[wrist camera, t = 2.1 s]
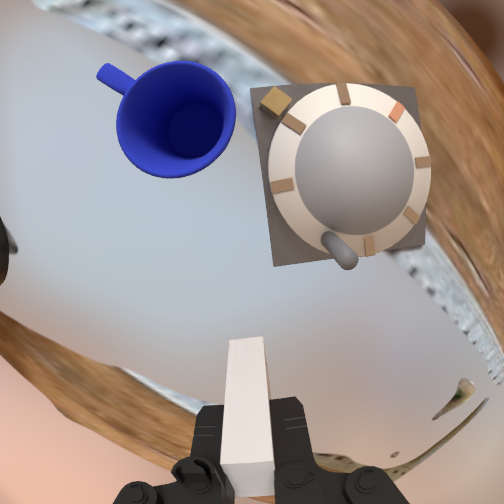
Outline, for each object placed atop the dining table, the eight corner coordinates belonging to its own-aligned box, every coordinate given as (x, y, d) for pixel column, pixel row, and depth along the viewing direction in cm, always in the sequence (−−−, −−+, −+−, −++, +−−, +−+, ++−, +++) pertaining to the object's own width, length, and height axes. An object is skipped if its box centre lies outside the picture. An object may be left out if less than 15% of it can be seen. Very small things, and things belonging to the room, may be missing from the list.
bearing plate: (273, 264, 31) (276, 275, 28) (250, 89, 25) (250, 82, 22) (422, 243, 30) (435, 250, 28) (411, 88, 25) (426, 83, 22)
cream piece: (278, 262, 30) (288, 296, 22) (256, 92, 25) (260, 67, 17) (422, 241, 29) (462, 264, 22) (412, 91, 24) (455, 78, 17)
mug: (162, 59, 24) (128, 21, 14) (256, 122, 26) (262, 103, 17) (115, 123, 26) (62, 112, 16) (204, 188, 28) (183, 203, 19)
